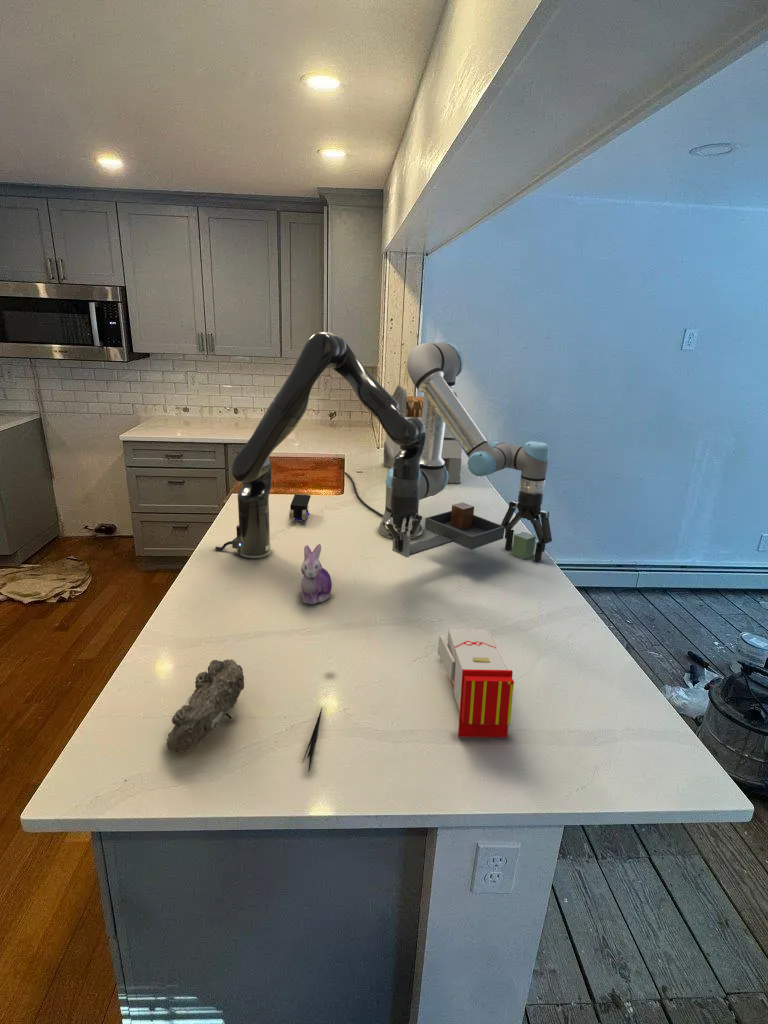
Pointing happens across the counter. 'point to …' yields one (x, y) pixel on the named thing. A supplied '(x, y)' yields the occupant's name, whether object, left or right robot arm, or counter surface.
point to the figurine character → (299, 507)
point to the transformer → (451, 447)
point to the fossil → (206, 705)
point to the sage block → (523, 545)
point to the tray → (453, 534)
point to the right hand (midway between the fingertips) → (522, 554)
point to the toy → (478, 682)
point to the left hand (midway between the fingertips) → (401, 550)
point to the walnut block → (462, 516)
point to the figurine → (314, 578)
